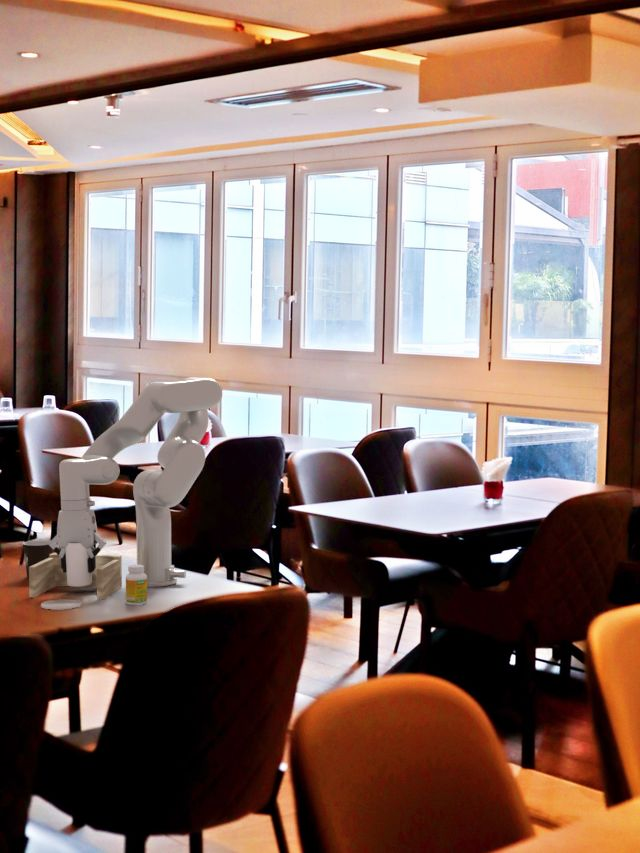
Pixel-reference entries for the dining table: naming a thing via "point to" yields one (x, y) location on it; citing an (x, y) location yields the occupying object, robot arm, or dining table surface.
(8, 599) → the dining table surface
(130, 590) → the supplement bottle
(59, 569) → the wooden arch stand
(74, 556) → the can
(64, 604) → the coaster
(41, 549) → the coffee mug
